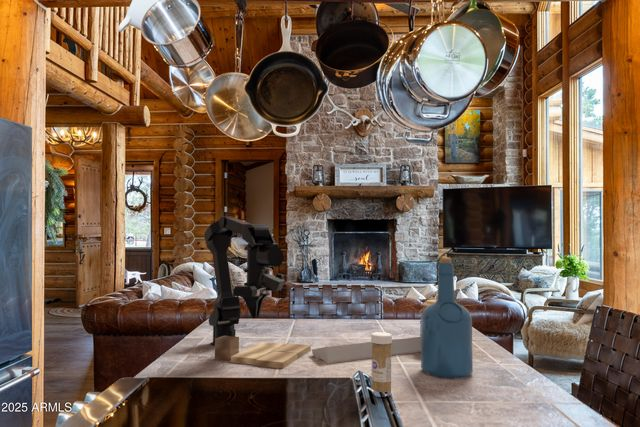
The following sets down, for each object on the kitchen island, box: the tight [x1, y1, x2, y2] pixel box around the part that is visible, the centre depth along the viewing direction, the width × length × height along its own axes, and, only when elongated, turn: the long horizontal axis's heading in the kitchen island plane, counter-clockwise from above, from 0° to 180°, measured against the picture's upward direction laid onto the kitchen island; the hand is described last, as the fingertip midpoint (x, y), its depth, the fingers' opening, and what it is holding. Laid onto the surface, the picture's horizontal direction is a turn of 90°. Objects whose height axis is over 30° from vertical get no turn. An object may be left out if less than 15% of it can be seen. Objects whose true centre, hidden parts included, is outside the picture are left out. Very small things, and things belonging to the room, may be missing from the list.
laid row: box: [255, 342, 312, 369], centre depth 134 cm, size 8×22×2 cm, turn 162°
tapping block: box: [214, 335, 240, 363], centre depth 132 cm, size 5×5×6 cm
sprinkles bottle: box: [370, 331, 393, 395], centre depth 102 cm, size 5×5×13 cm
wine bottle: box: [420, 257, 474, 380], centre depth 120 cm, size 14×13×30 cm
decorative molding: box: [311, 336, 421, 365], centre depth 140 cm, size 34×5×10 cm
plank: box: [230, 341, 286, 366], centre depth 136 cm, size 8×20×2 cm, turn 162°
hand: (255, 317), depth 137 cm, fingers closed
